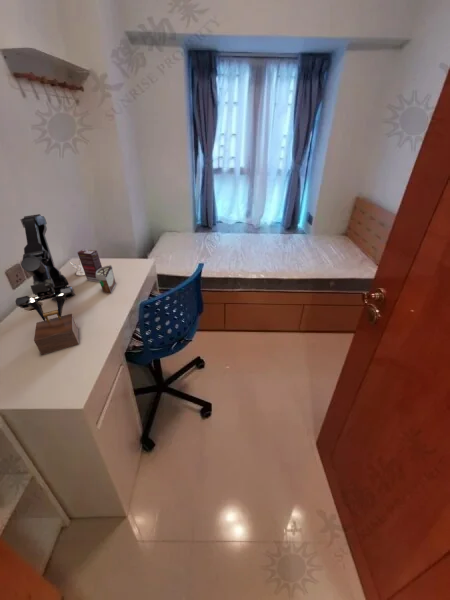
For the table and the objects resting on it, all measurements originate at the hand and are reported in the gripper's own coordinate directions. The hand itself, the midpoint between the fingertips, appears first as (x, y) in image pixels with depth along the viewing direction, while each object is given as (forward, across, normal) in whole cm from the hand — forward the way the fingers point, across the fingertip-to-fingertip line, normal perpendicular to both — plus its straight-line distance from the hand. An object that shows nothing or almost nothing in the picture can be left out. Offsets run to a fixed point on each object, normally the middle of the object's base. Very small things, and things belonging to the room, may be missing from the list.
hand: (52, 318), depth 105 cm
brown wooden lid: (+4, 0, 0) cm, 4 cm away
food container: (-14, +20, +28) cm, 37 cm away
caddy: (+8, 0, +4) cm, 9 cm away
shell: (-33, +11, +46) cm, 58 cm away
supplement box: (-24, +16, +38) cm, 47 cm away
